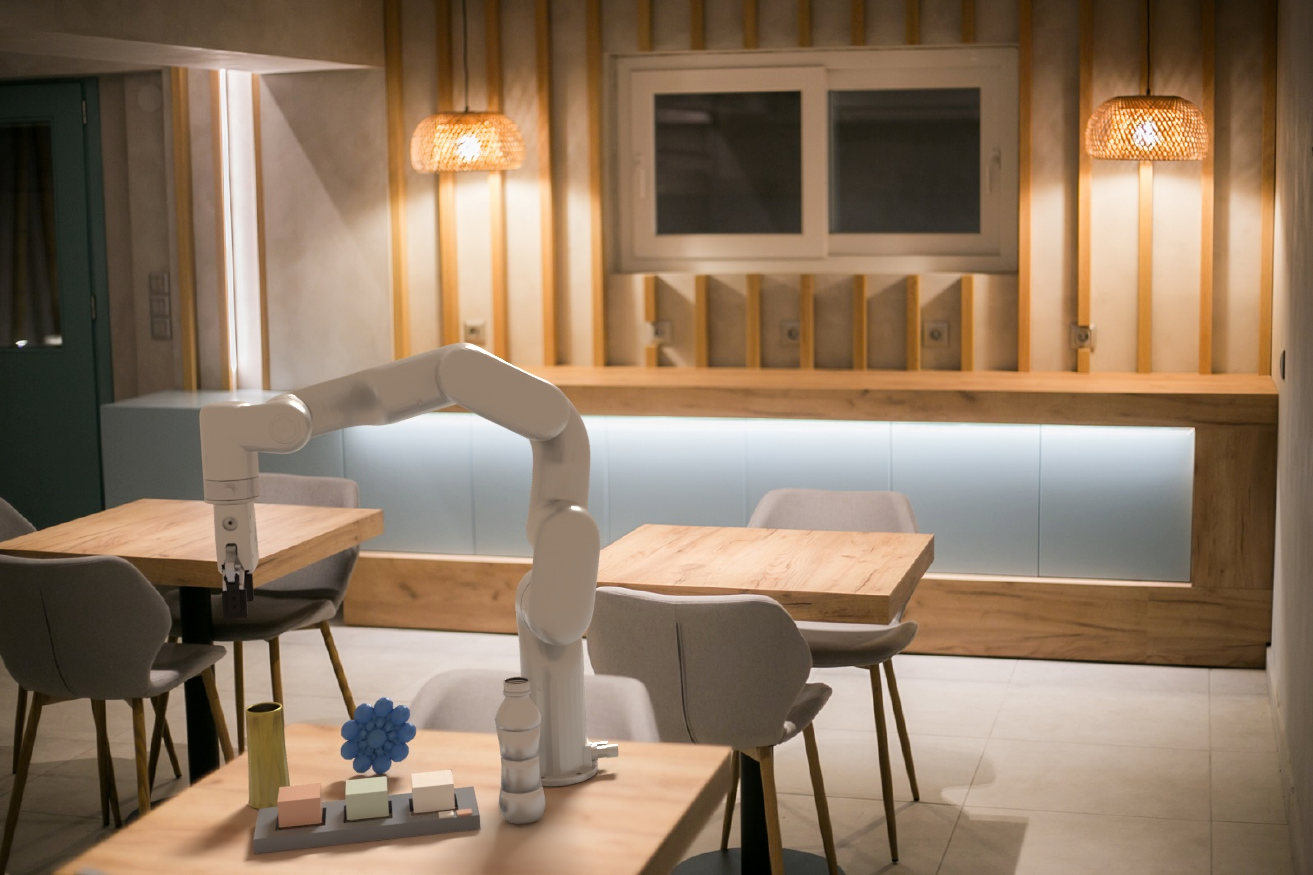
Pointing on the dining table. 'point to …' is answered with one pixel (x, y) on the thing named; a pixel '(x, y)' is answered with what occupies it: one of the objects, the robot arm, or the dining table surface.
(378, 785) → the key sage
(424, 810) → the key ivory
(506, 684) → the plastic bottle
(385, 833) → the keypad board
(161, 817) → the dining table surface
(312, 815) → the key terracotta
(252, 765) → the vase
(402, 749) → the blue flower rosette
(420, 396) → the robot arm
